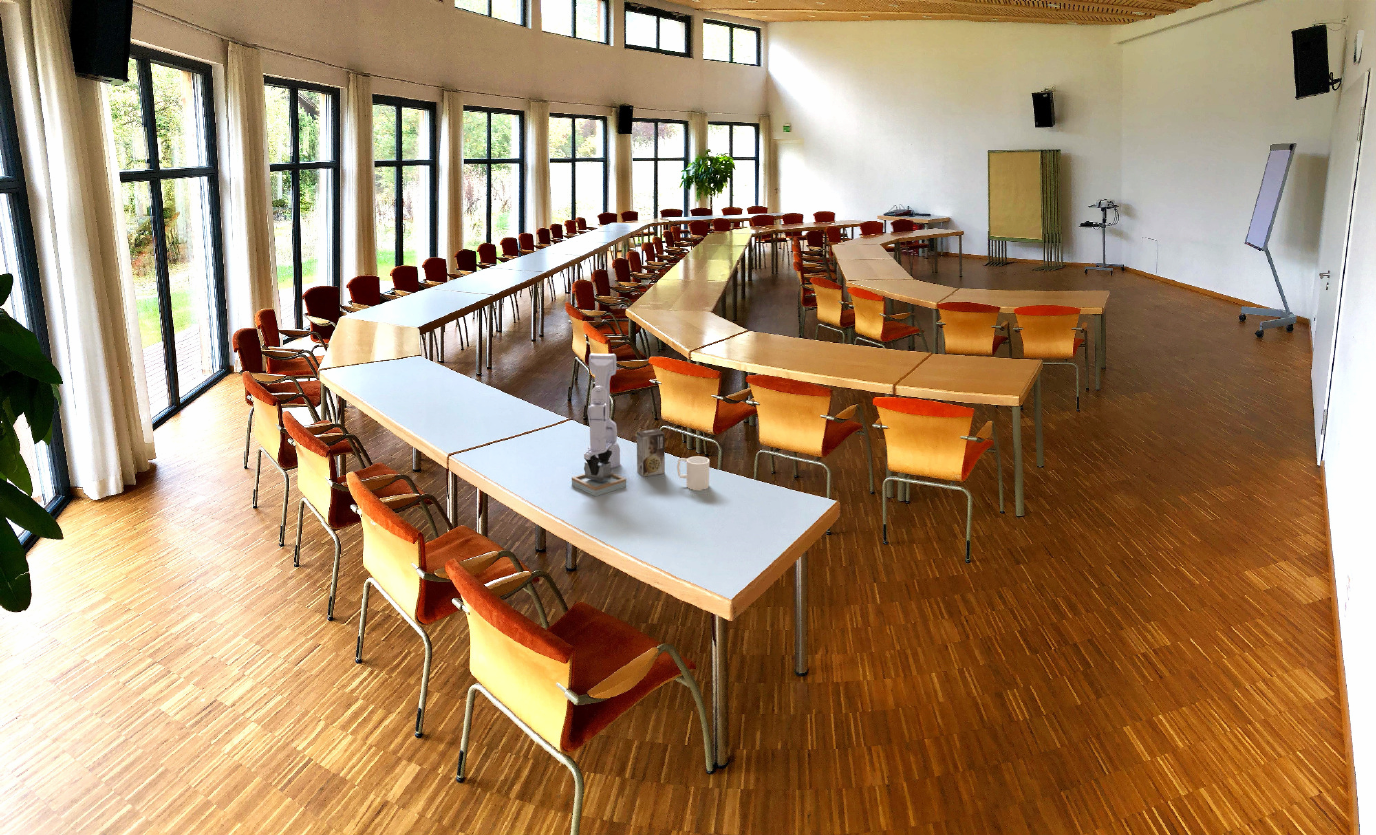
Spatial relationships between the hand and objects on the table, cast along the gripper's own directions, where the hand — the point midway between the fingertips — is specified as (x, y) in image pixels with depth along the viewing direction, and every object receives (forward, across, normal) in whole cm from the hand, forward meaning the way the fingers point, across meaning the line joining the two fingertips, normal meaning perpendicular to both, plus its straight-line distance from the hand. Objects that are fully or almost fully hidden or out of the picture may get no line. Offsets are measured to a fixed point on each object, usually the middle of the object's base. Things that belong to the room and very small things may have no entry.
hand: (598, 472), depth 318 cm
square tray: (+5, 0, 0) cm, 5 cm away
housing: (+2, 0, 0) cm, 2 cm away
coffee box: (+6, -21, +9) cm, 24 cm away
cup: (+6, -18, +29) cm, 34 cm away
